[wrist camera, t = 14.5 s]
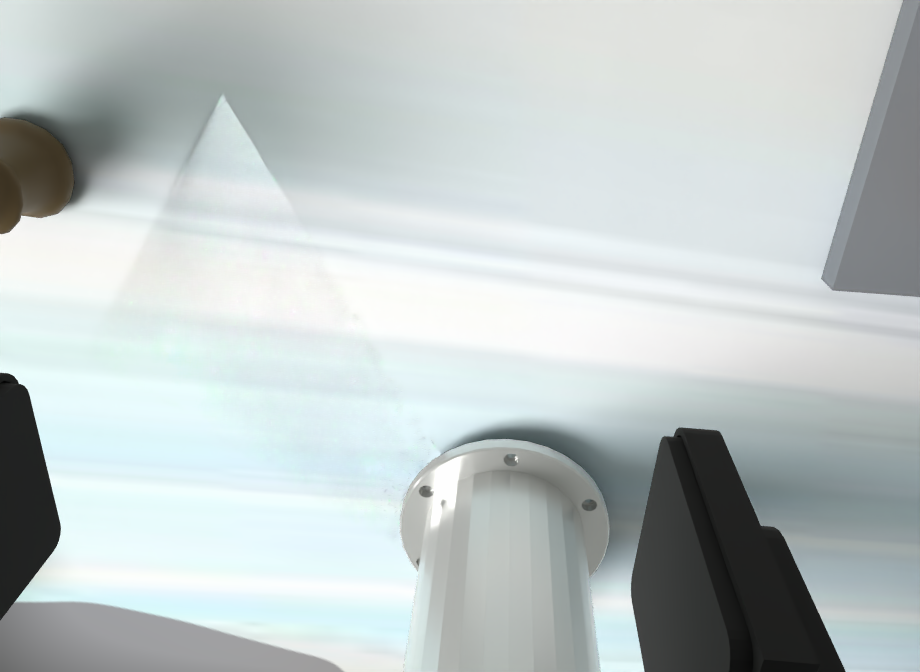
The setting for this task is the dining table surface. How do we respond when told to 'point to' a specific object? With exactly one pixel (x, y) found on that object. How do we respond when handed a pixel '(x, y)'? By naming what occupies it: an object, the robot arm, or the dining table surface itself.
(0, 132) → the kendama
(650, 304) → the dining table surface
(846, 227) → the board
